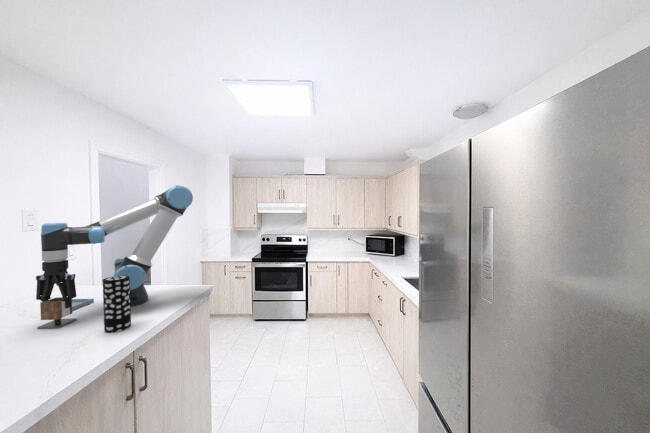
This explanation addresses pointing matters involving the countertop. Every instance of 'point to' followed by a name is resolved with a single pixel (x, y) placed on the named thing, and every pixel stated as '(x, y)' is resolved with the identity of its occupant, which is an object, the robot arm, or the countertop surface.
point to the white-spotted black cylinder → (116, 303)
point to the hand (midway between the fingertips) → (57, 315)
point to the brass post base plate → (57, 323)
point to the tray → (80, 303)
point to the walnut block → (52, 309)
